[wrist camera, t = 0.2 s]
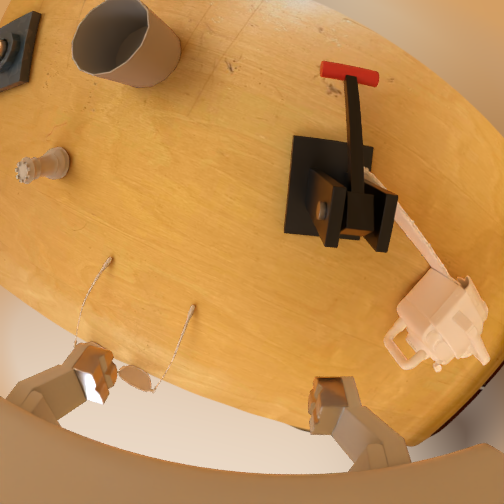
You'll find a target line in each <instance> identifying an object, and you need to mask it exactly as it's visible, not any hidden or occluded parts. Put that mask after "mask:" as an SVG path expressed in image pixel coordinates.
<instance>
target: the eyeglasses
mask: <svg viewBox="0 0 504 504" xmlns="http://www.w3.org/2000/svg"><path fill="white" fill-rule="evenodd" d="M111 261H112V258H111V257H109V258H108V259H107V260H106V262H105V263H104V264H103V266H102V269H101V270H100V272H99V274H98V275H97V276H96V278H95V280H94V282H93V284H92V285H91V287H90V289H89V291H88V293H87V295H86V297H85V299H84V302H83V304H82V308H83V306H84V303H85V301H86V299H87V297H88V295H89V293H90V291H91V289H92V287H93V286H94V284H95V282H96V281H97V279H98V278H99V276H100V275H101V273H102V272H103V271H104V270H105V269H106V268H107V267H108V266H109V264H110V262H111ZM194 309H195V306H194V305H191V307H190V310H189V312H188V316H187V320H186V323H185V325H184V328H183V331H182V334H181V337H180V339H179V342H178V345H177V348H176V351H175V353H174V356H173V359H174V358H175V355H176V353H177V350H178V347H179V345H180V342H181V340H182V337H183V335H184V332H185V330H186V327H187V325H188V322H189V320H190V318H191V317H192V315H193V311H194ZM81 312H82V309H81ZM81 312H80V316H81ZM79 320H80V317H79ZM78 325H79V321H78ZM77 331H78V326H77ZM76 337H77V332H76ZM76 343H77V341H76V340H75V342H74V348H75V347H76V346H77V345H76ZM84 344H87V345H91V346H95V347H99V348H102V349H104V348H103V347H101V346H100V345H98V344H96V343H94V342H87V343H84ZM173 359H172V361H173ZM172 361H171V363H172ZM171 363H170V365H171ZM170 365H169V367H170ZM169 367H168V369H169ZM168 369H167V370H168ZM119 370H120V371H117V373H118V374H119V376H120V378H121V379H122V380H124V381H125V382H127V383H128V384H130V385H131V386H133V387H135V388H137V389H140V390H142V391H145V392H147V391H150V392H152V393H154V392H155V390H156V388H157V386H158V385H157V386H156V387H155V389H154V390H153V389H151V380H150V377H149V375H148V374H147V373H146V372H145V371H143V370H141V369H139V368H137V367H135V366H133V365H129V366H126V367H125V366H123V367H122V368H120V369H119ZM167 370H166V372H167ZM166 372H165V374H166ZM165 374H164V375H165ZM163 377H164V376H163ZM163 377H162V379H163ZM162 379H161V380H162ZM161 380H160V382H161ZM160 382H159V383H160ZM159 383H158V384H159Z"/></svg>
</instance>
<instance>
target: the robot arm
mask: <svg viewBox="0 0 504 504" xmlns="http://www.w3.org/2000/svg"><path fill="white" fill-rule="evenodd" d="M113 358H114V357H113V354H112V352H111V351H110V350H106V349H102V348H99V347H95V346H91V345H87V344H84V343H79V344H78V345H77V346H76V347H75V348H74V350H73V351H72V353H71V354H70V355H69V356H68V357H67V359H66V360H65V361H64V363H63V364H62V365H57V366H55V367H52V368H50V369H48V370H45V371H43V372H41V373H38V374H36V375H34V376H32V377H29V378H27V379H25V380H22V381H20V382H18V383H17V385H16V386H15V387H14V389H13V390H12V391H11V393H10V394H9V395H8V396H7V398H6V399H4V398H2V397H1V396H0V504H504V454H503V453H502V452H500V451H499V450H497V449H496V448H494V447H493V446H491V445H489V444H486V443H483V444H478V445H475V446H472V447H469V448H466V449H462V450H459V451H456V452H453V453H449V454H446V455H442V456H438V457H434V458H430V459H427V460H422V461H418V462H413V463H411V460H410V456H409V454H408V450H407V446H406V443H405V440H404V438H403V437H401V436H400V435H399V434H398V433H396V432H395V431H394V430H393V429H392V428H390V427H389V426H388V425H387V424H386V423H384V422H383V421H382V420H381V419H380V418H379V417H377V416H376V415H375V414H374V413H373V412H371V411H370V410H369V409H368V408H367V407H366V406H362V405H361V401H360V397H359V394H358V390H357V387H356V383H355V380H354V378H353V377H352V376H348V377H315V378H314V381H313V389H312V390H311V391H310V394H309V399H308V413H309V414H310V415H311V418H310V421H309V424H310V433H311V435H331V436H332V437H333V438H334V439H335V440H336V442H337V443H338V444H339V445H340V447H341V448H342V449H343V450H344V451H345V453H346V454H347V455H348V456H349V458H350V459H351V460H352V461H353V462H354V465H353V466H352V467H351V469H350V470H349V471H348V472H343V473H329V474H291V475H290V474H260V473H246V472H235V471H225V470H218V469H210V468H203V467H197V466H191V465H185V464H180V463H175V462H170V461H166V460H161V459H157V458H152V457H148V456H144V455H140V454H137V453H133V452H130V451H126V450H122V449H119V448H116V447H113V446H110V445H107V444H104V443H101V442H98V441H95V440H92V439H89V438H87V437H84V436H82V435H79V434H76V433H74V432H71V431H69V430H66V429H64V428H62V427H61V426H60V424H59V423H58V421H57V420H59V419H60V418H62V417H63V416H64V415H66V414H68V413H69V412H71V411H72V410H73V409H75V408H76V407H78V406H79V405H81V404H82V403H84V402H85V401H86V399H87V400H90V401H93V402H97V403H100V404H104V403H105V401H106V399H107V397H108V395H109V390H108V389H109V388H111V387H113V386H114V384H115V382H116V379H117V368H116V365H115V364H114V363H113V362H112V360H113Z"/></svg>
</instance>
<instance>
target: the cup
mask: <svg viewBox="0 0 504 504" xmlns="http://www.w3.org/2000/svg"><path fill="white" fill-rule="evenodd" d="M180 55H181V48H180V40H179V39H178V37H177V36H176V35H175V34H174V32H173V31H172V30H171V29H170V28H169V27H168V26H167V25H166V24H165V23H164V22H163V21H162V20H161V19H160V18H158V17H157V16H156V15H155V14H154V13H153V12H152V11H151V10H150V9H149V8H148V7H147V6H146V5H144V4H143V3H142V2H141V1H140V0H106V1H104V2H103V3H101V4H100V5H98V6H96V7H95V8H93V9H92V10H91V11H90V12H89V13H88V14H87V15H86V16H85V18H84V19H83V20H82V21H81V23H80V24H79V25H78V27H77V30H76V32H75V35H74V38H73V40H72V59H73V61H74V62H75V64H76V65H77V67H78V69H79V70H80V71H83V72H85V73H88V74H90V75H93V76H97V77H101V78H104V79H108V80H112V81H116V82H119V83H123V84H126V85H130V86H133V87H136V88H139V87H151V86H153V85H155V84H157V83H159V82H161V81H163V80H165V79H166V78H167V77H168V76H169V75H170V74H171V72H172V71H173V70H174V69H175V68H176V66H177V63H178V61H179V58H180Z"/></svg>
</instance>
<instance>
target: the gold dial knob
mask: <svg viewBox="0 0 504 504" xmlns="http://www.w3.org/2000/svg"><path fill="white" fill-rule="evenodd" d="M7 48H8V42H7V41H3V40H0V62H1V60H2V59H3V58H4V56H5V54H6V52H7Z"/></svg>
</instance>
